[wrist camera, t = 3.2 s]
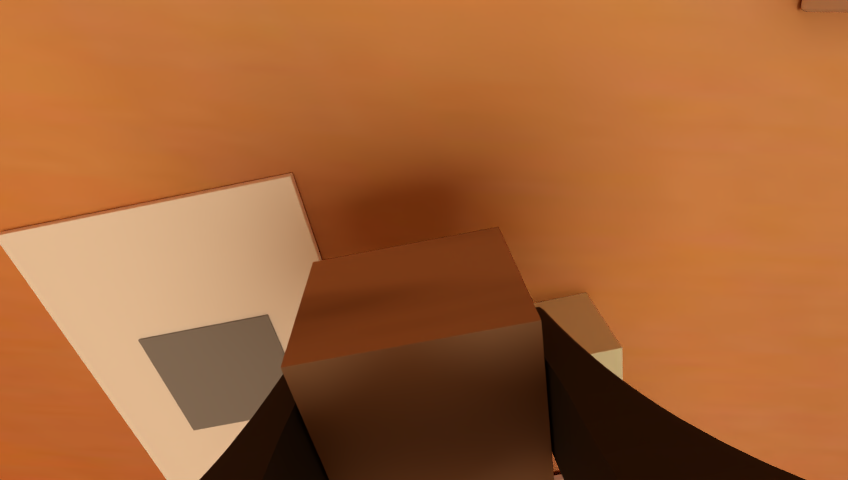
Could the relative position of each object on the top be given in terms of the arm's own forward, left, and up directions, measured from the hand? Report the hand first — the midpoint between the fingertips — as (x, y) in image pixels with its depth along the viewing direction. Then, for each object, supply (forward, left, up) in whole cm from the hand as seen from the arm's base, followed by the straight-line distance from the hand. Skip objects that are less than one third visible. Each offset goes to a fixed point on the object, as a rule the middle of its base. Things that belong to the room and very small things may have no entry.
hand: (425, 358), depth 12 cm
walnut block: (0, 0, -2) cm, 2 cm away
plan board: (-6, +10, -8) cm, 15 cm away
